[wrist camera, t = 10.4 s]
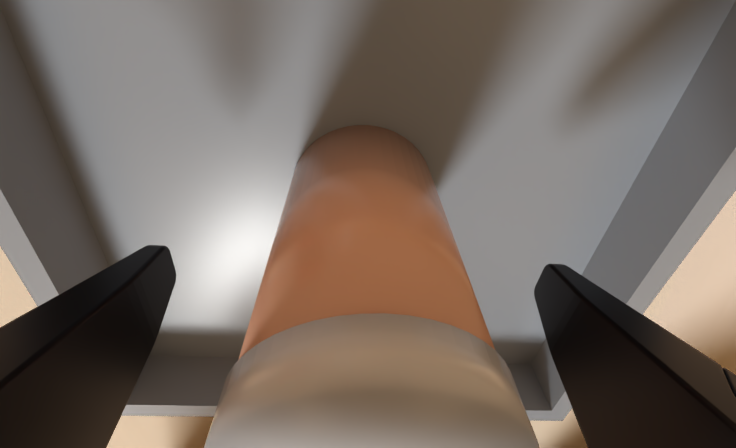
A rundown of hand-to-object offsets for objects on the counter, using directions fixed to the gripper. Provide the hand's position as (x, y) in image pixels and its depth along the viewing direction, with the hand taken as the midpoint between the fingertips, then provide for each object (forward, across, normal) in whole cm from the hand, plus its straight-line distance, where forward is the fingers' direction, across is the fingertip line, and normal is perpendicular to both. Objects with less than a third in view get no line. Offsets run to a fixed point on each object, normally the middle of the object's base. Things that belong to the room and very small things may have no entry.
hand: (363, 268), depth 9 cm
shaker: (+4, 0, 0) cm, 4 cm away
